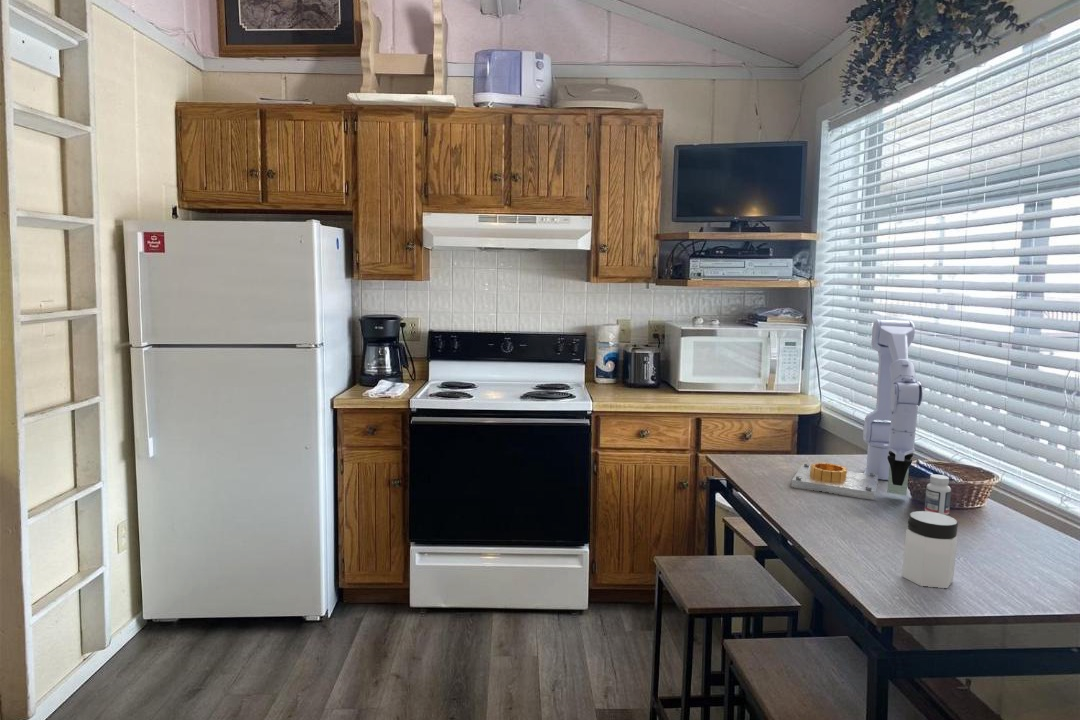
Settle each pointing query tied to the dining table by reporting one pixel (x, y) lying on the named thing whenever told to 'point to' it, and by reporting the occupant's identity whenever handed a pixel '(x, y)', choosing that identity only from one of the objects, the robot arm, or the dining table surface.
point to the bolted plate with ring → (835, 480)
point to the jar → (930, 549)
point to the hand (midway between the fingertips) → (897, 482)
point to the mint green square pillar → (897, 488)
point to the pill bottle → (938, 495)
